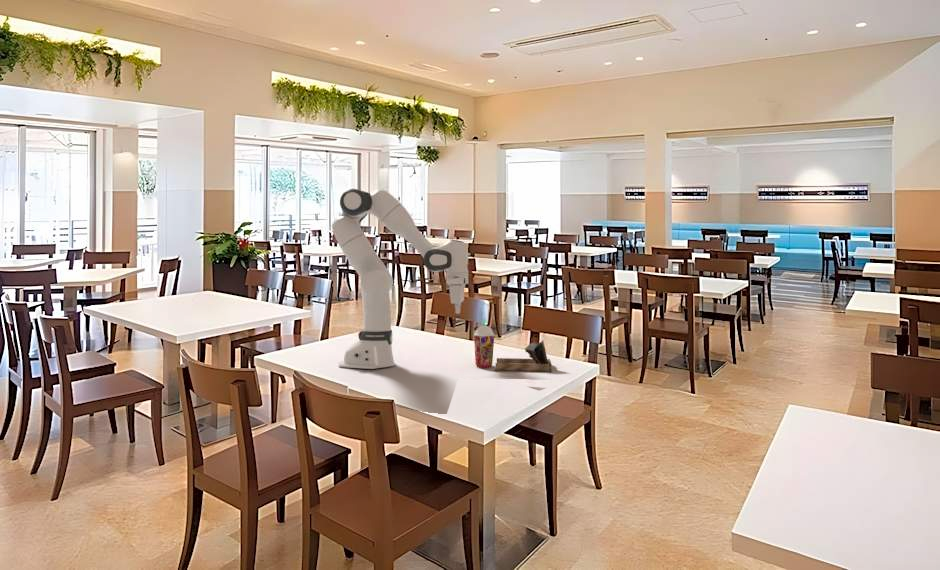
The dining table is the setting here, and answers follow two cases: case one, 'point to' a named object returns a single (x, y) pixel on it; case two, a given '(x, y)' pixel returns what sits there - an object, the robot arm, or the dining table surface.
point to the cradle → (522, 365)
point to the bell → (537, 352)
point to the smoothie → (484, 346)
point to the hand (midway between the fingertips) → (457, 313)
